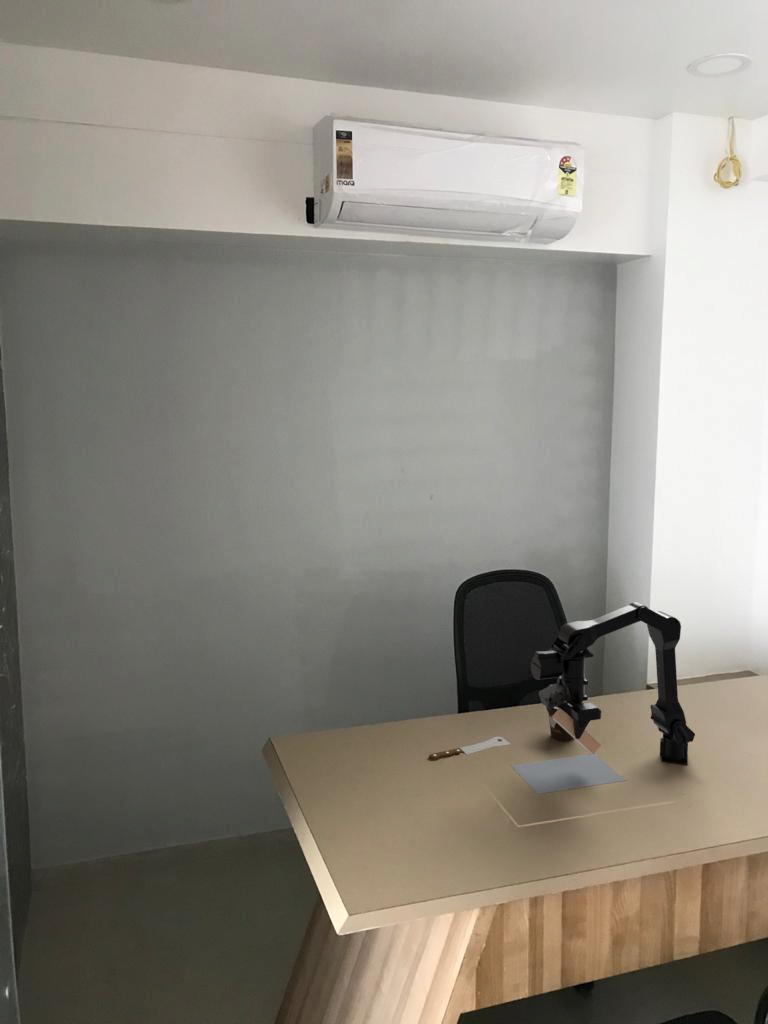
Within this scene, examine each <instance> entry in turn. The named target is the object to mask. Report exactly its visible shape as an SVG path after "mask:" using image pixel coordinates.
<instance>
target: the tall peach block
mask: <svg viewBox="0 0 768 1024" xmlns="http://www.w3.org/2000/svg"><path fill="white" fill-rule="evenodd" d="M552 717H553V720H554V721H556V722H557V723H558V724H559V725H560V726H561V727H562V728H563V729H564V730H565V731H566V732H568V733H569V734H570V735H571V736H572V737H573V738H574V739H573V740H575V741H576V742H577V743H578V744H580V746H582V747H583V748H584V749H585V750H586V751H588V752H589V754H596V752H597V751H598V749H599V748H600V747H601V745H602V744H600V742H598V740H596V739H595V738H594V736H592V734H590V733H589V732H588V731H587V730H586V729H585V730H584V732H583V734H582V736H581V737H580V739H576V738H575V733H574V724H573V719H572V718H571V717H570V716H569V715H568V714H567V713H565V712H564V711H563V710H562V709H560V708H559V709H558V710H557V711H556V713H555V714H554V715H553V716H552Z"/></svg>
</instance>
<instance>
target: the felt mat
mask: <svg viewBox="0 0 768 1024" xmlns="http://www.w3.org/2000/svg"><path fill="white" fill-rule="evenodd" d="M510 767H511V768H512V769H513V770H514V771H515V772H516V773H517V774H518V775H519V776H520V777H521V778H522V779H523V781H524V782H526V784H527V785H528V786H529V787H530V788H531V789H532V790H533V792H535V793H536V794H537V795H541V794H546V793H555V792H560V791H567V790H572V789H573V790H575V789H580V788H581V789H582V788H588V787H592V786H600V785H606V784H612V783H613V784H614V783H619V782H625V781H627V780H626V779H625V778H624V776H621V775H620V774H619V773H618V772H617V771H616V770H614V769H613V768H612V767H611V766H610V765H609V764H608V763H606V762H605V761H603V760H602V759H601V758H600V757H599V756H598V755H597V754H596V753H594V754H593V753H592V754H591V753H589V754H583V755H582V754H581V755H575V756H568V757H561V758H553V759H547V760H546V759H545V760H538V761H532V762H525V763H518V764H511V765H510Z"/></svg>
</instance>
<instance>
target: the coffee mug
mask: <svg viewBox="0 0 768 1024" xmlns="http://www.w3.org/2000/svg"><path fill="white" fill-rule="evenodd" d="M545 708H546V711H547V713H548V721H549V731H550V738H551V739H553V740H555V741H558V742H571V741H574V740H575V739H574V738H573V737H572V736H571V735H570V734H569V733H568V732H566V731H565V730H564V729H563V728H562V727H561V726H560V725H559V724H558V723H557V722H556V721H554V720H553V717H552V716H553V715H554V714H555V713H556V711H557V710H558V707H554V708H552V709H548V708H547V707H546V706H545Z"/></svg>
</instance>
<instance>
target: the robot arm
mask: <svg viewBox="0 0 768 1024" xmlns="http://www.w3.org/2000/svg"><path fill="white" fill-rule="evenodd" d="M640 622H642V623H644V624H645V625H646V626H647V632H648V635H649V637H650V639H651V642H652V643H653V645H654V649H655V662H656V663H655V666H656V682H657V694H658V695H657V697H658V699H657V701H656V702H655V704H650V706H649V708H650V711H651V713H650V714H651V715H650V719H651V720H652V721H653V724H654V725H655V726H656V727H657V730H658V731H659V732H660V733H662V737H660V739H659V741H660V742H659V756H660V757H661V758H660V759H661V762H662V763H663V762H664V763H671V764H678V765H686V766H687V765H688V763H689V759H688V757H689V754H688V753H689V749H688V748H689V743H692V742H693V741H694V739H695V736H696V734H695V732H694V731H693V730H692V729H691V728H689V726H688V725H687V719H686V716H685V711H684V710H683V707H682V706H681V704H680V702H679V701H680V700H679V695H678V694H679V693H678V680H677V679H678V677H677V675H678V674H677V659H676V658H677V657H676V647H677V646H678V643H679V641H680V640H681V631H682V625H681V622H680V620H678V618H676V617H675V616H673V615H671V614H668V613H667V612H666V613H665V612H663V611H661V610H656V611H655V610H653V609H650V608H649V607H648V606H646V605H644V604H641V603H640V602H637V601H634V602H631V603H629V604H628V605H626V606H623V607H620V608H618V609H615V610H614V611H610V612H608V613H606V614H603V615H600V616H598V617H595V618H592V619H590V620H576V621H572V622H566V623H565V624H562V625H561V627H560V629H559V631H558V634H557V636H556V637H555V639H554V640H553V642H552V643H551V645H550V646H549V650H545V651H541V650H538V651H537V650H536V651H535V652H534V656H533V657H532V659H531V661H530V671H531V675H532V676H533V678H534V679H535V680H537V681H538V680H539V681H540V680H546V679H547V680H548V679H556V678H557V679H556V683H553V684H549V685H547V687H545V688H543V689H541V690H540V691H538V695H539V698H540V701H541V705H544V706H545V708H546V707H547V708H548V709H552V708H554V707H558V709H559V708H560V709H562V710H563V711H564V712H565V713H567V714H568V715H569V716H570V717H571V718H572V719H573V724H574V733H575V738H576V739H580V737H581V736H582V734H583V732H584V730H585V731H586V729H587V726H588V725H589V723H590V722H591V721H597V720H601V719H602V710H601V708H599V707H598V706H596V705H595V704H593V702H587V703H585V701H588V700H589V699H588V697H589V696H587V695H586V694H585V685H586V686H587V685H589V680H588V679H586V676H585V673H586V659H591V658H593V657H594V654H593V653H592V652H591V651H590V650H589V649H588V648H590V647H591V646H593V645H594V644H595V643H596V642H597V640H598V639H600V638H602V637H604V636H606V635H609V634H612V633H614V632H616V631H618V630H622V629H624V628H627V627H629V626H632V625H634V624H636V623H640ZM563 646H565V647H566V648H564V647H563ZM583 702H584V703H583Z"/></svg>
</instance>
